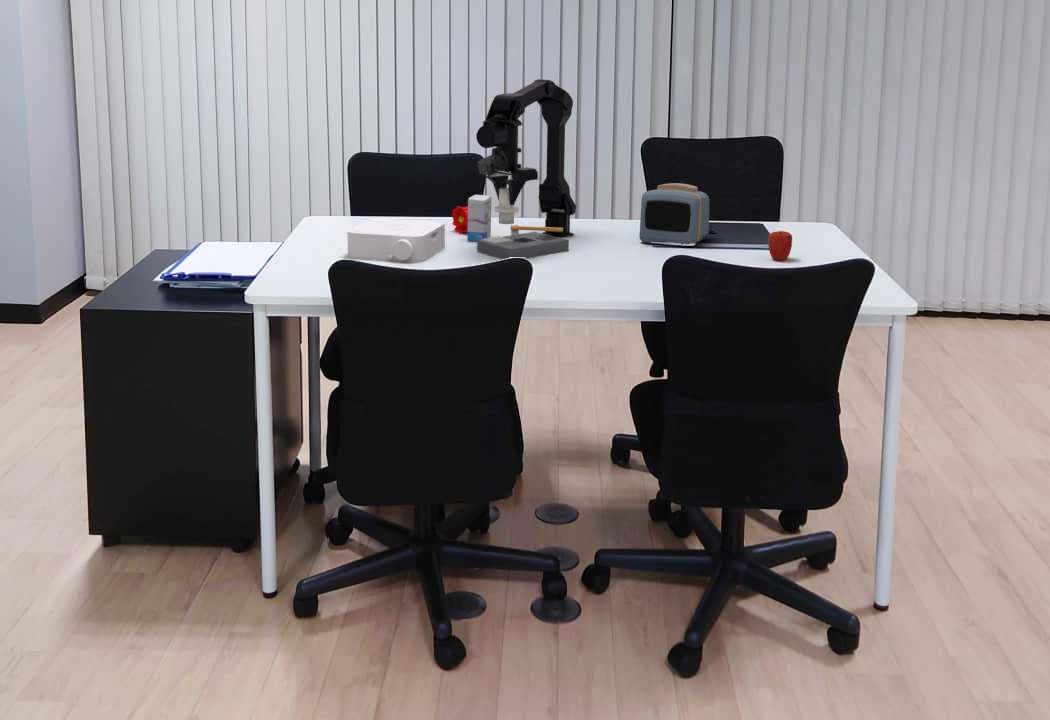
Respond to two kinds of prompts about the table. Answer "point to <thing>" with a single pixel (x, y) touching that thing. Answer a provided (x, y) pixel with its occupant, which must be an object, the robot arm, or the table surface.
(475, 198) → the ink box
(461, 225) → the flower
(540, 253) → the grey flat block
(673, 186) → the retro portable television
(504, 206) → the plug
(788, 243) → the red rounded lump
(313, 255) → the table surface
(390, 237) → the projector
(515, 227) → the orange matchstick
